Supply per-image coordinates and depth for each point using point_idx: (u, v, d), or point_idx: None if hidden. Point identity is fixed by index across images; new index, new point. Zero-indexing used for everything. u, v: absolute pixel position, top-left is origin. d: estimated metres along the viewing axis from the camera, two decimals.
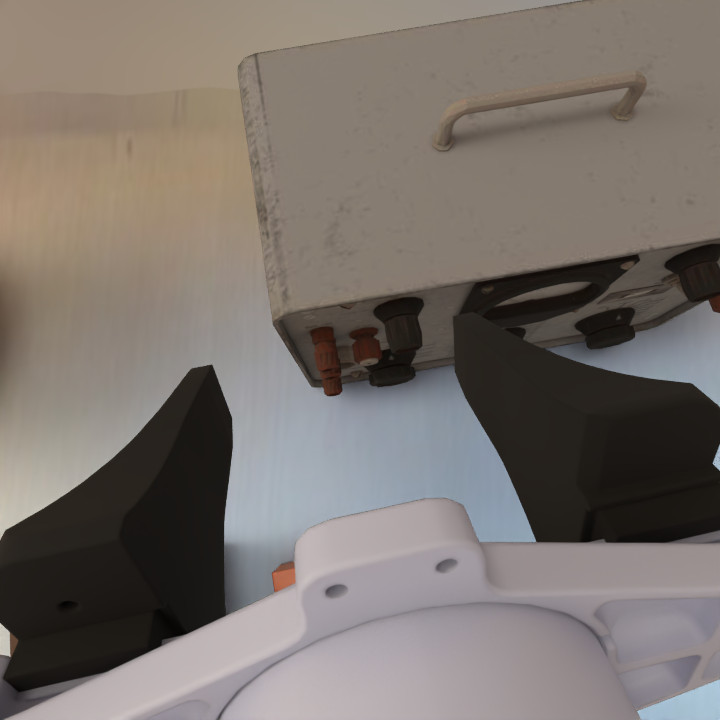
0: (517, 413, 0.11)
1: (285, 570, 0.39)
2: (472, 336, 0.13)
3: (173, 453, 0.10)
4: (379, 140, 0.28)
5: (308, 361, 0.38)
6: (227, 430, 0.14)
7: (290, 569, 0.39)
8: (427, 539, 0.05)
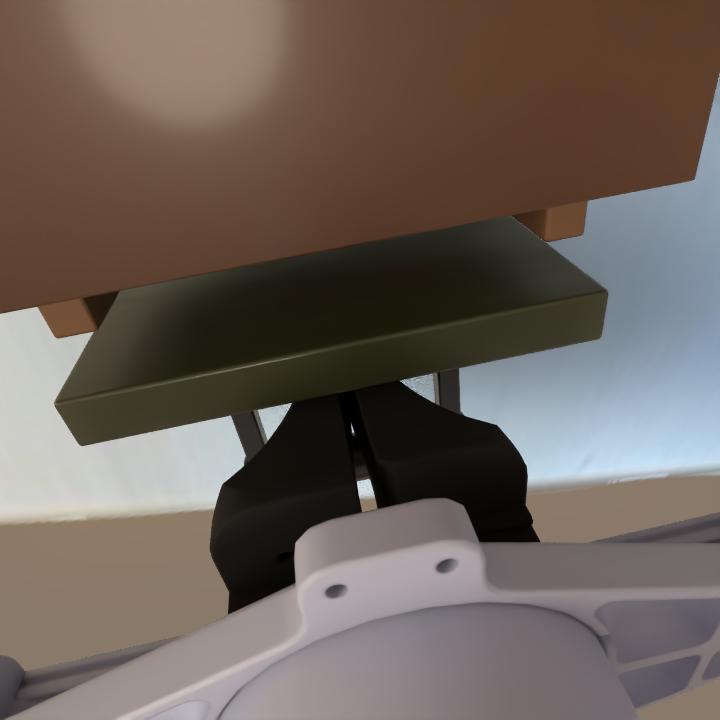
0: (366, 445, 0.11)
1: None
2: None
3: (342, 418, 0.10)
4: None
5: None
6: (347, 405, 0.15)
7: None
8: (427, 539, 0.05)
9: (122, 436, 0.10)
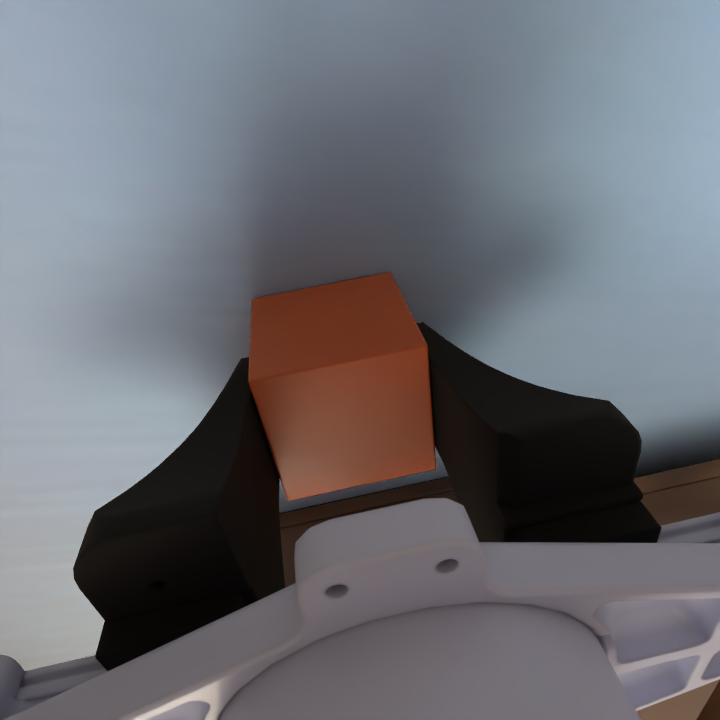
0: (453, 427, 0.11)
1: (280, 472, 0.13)
2: None
3: (242, 439, 0.10)
4: None
5: None
6: None
7: (277, 462, 0.13)
8: (427, 539, 0.05)
9: None
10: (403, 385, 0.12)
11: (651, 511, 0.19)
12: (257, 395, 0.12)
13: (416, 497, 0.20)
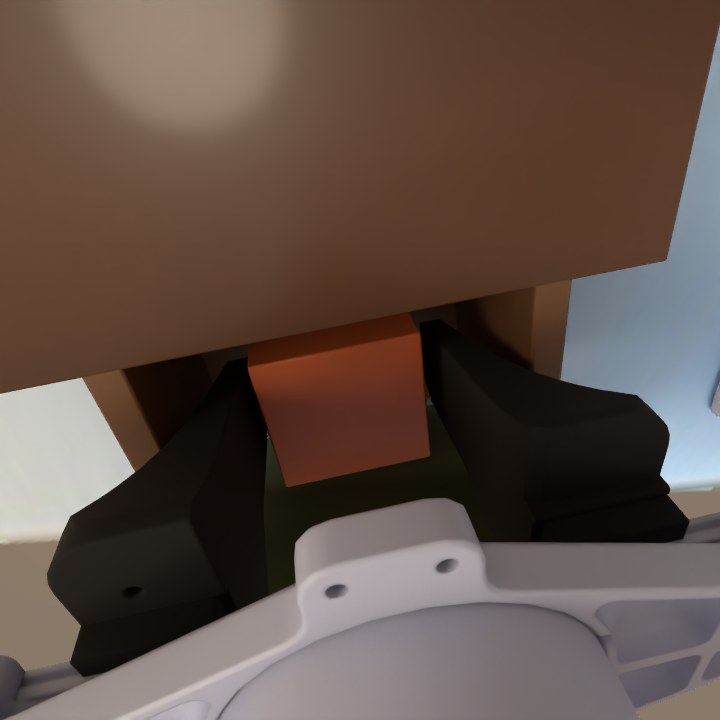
0: (475, 422, 0.11)
1: (279, 459, 0.14)
2: (435, 344, 0.13)
3: (223, 443, 0.10)
4: None
5: None
6: (263, 423, 0.14)
7: (276, 448, 0.13)
8: (427, 539, 0.05)
9: None
10: (398, 373, 0.13)
11: None
12: (256, 382, 0.12)
13: None
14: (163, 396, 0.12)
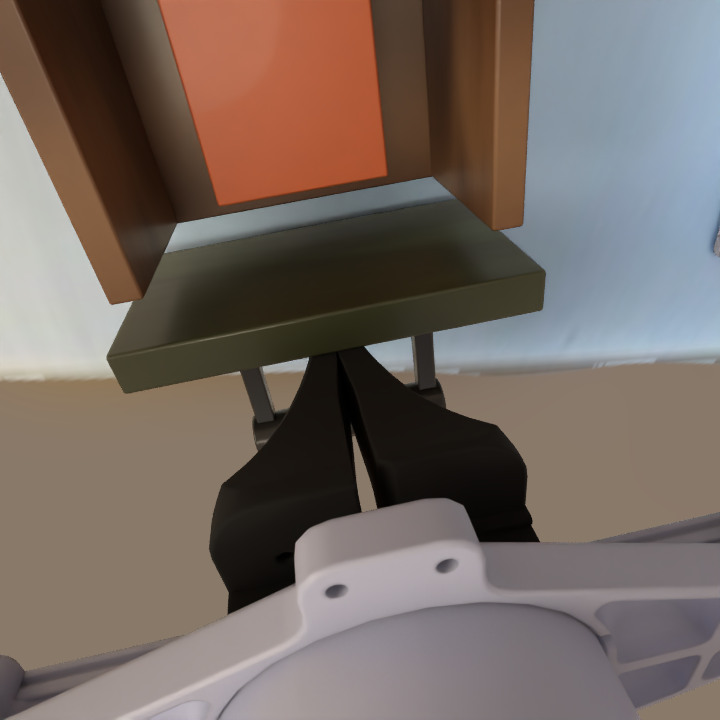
0: (366, 445, 0.11)
1: (207, 159, 0.12)
2: (341, 363, 0.13)
3: (342, 418, 0.10)
4: None
5: None
6: (347, 405, 0.15)
7: (202, 141, 0.11)
8: (427, 539, 0.05)
9: (158, 386, 0.13)
10: (342, 27, 0.10)
11: None
12: (168, 20, 0.10)
13: None
14: (54, 29, 0.10)
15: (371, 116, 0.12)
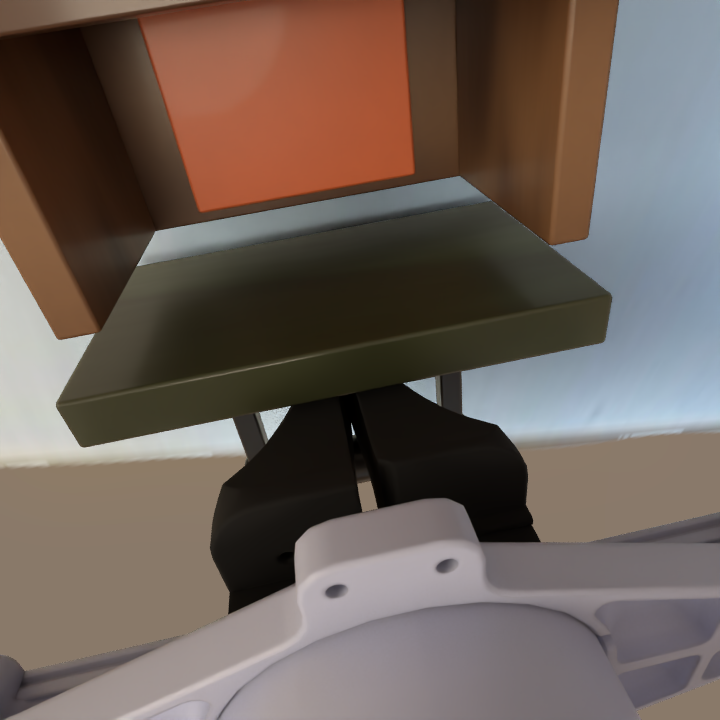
0: (367, 445, 0.11)
1: (183, 153, 0.09)
2: None
3: (342, 418, 0.10)
4: None
5: None
6: None
7: (176, 128, 0.09)
8: (427, 539, 0.05)
9: (124, 438, 0.10)
10: None
11: None
12: None
13: None
14: None
15: (396, 97, 0.09)
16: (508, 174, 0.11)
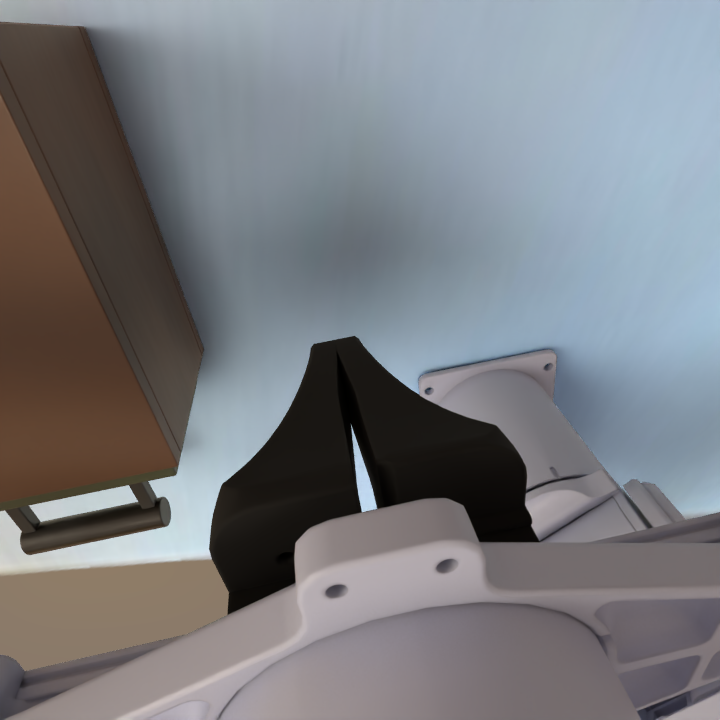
0: (366, 445, 0.11)
1: None
2: (341, 363, 0.13)
3: (342, 418, 0.10)
4: None
5: None
6: (347, 405, 0.15)
7: None
8: (427, 539, 0.05)
9: None
10: None
11: None
12: None
13: (151, 221, 0.21)
14: None
15: None
16: None
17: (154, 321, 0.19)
